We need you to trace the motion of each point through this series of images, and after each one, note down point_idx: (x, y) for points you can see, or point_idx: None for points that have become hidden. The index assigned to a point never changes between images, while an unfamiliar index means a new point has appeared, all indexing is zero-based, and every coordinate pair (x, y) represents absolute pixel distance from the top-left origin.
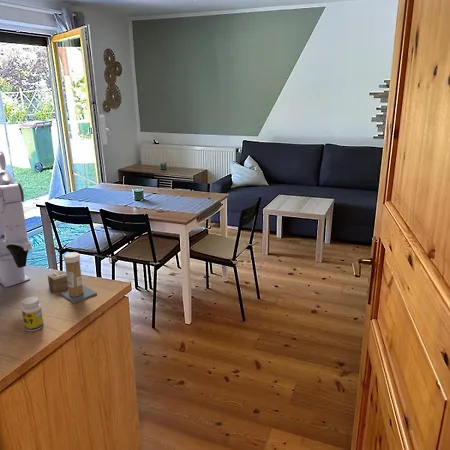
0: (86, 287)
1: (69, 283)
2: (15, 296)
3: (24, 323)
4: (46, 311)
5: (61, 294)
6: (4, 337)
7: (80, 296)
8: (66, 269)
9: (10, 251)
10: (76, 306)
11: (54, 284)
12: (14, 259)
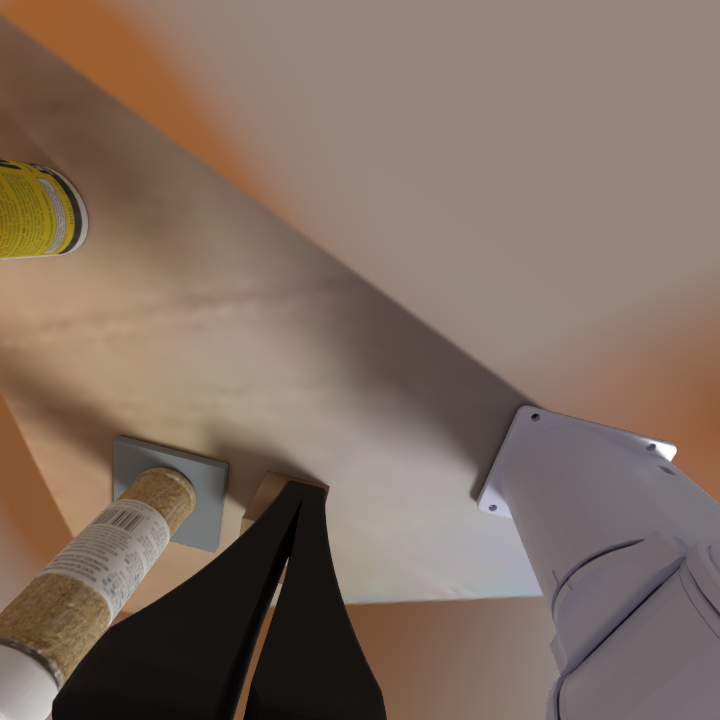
0: (184, 541)
1: (112, 513)
2: (394, 364)
3: (8, 160)
4: (143, 337)
5: (219, 464)
6: (56, 55)
7: (134, 481)
8: (62, 589)
9: (300, 630)
10: (90, 423)
11: (258, 498)
12: (308, 538)
